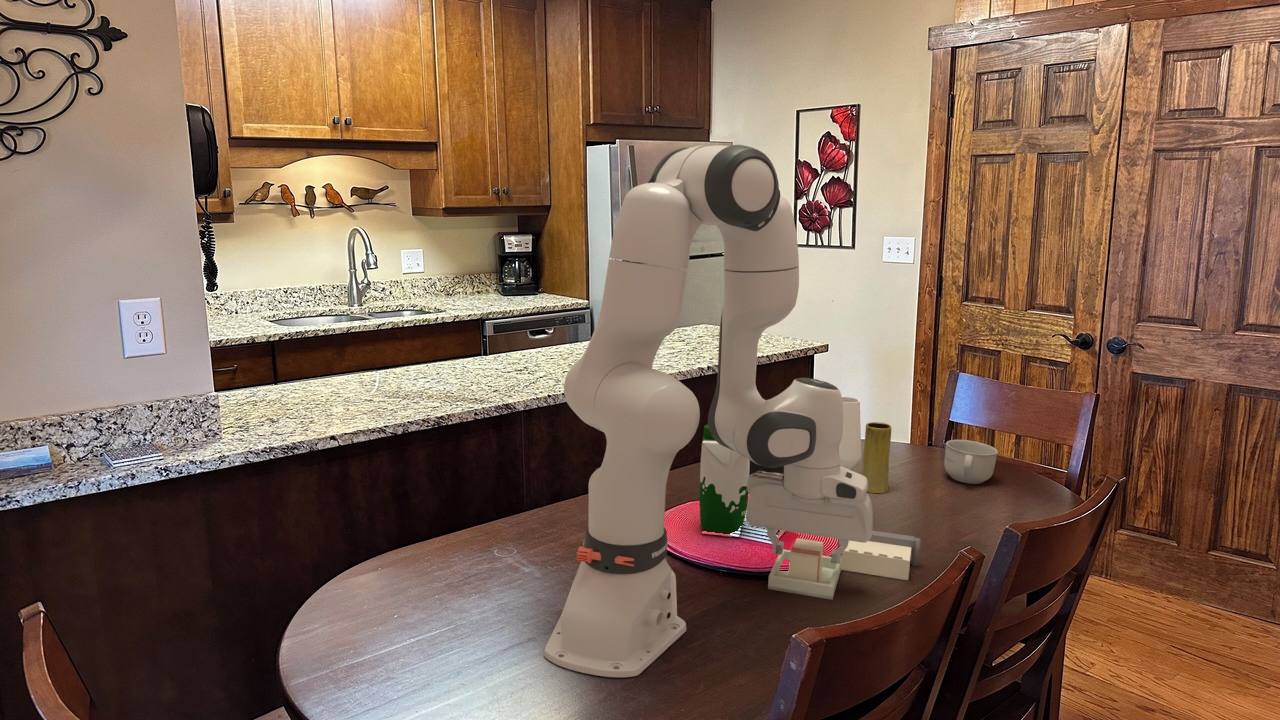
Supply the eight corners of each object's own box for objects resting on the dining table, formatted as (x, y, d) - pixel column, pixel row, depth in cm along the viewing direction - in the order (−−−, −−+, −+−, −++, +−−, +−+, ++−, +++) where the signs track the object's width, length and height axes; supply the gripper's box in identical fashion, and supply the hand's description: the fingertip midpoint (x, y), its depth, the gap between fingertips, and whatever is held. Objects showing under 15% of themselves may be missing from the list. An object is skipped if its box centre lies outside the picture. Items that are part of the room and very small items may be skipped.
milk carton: (701, 518, 166) (705, 419, 162) (748, 522, 164) (752, 422, 160) (695, 536, 158) (699, 432, 154) (744, 540, 156) (749, 435, 152)
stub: (816, 588, 137) (817, 558, 136) (788, 583, 138) (789, 554, 137) (821, 570, 143) (823, 541, 142) (795, 565, 145) (796, 537, 144)
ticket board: (916, 581, 140) (919, 555, 140) (832, 568, 145) (833, 542, 144) (918, 562, 148) (920, 537, 147) (837, 550, 152) (839, 525, 151)
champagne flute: (835, 527, 163) (843, 405, 158) (814, 514, 169) (822, 397, 164) (863, 522, 166) (872, 402, 161) (842, 510, 172) (850, 394, 167)
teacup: (950, 468, 199) (953, 435, 197) (999, 478, 192) (1003, 444, 191) (932, 484, 187) (935, 450, 186) (983, 495, 181) (987, 459, 180)
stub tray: (832, 599, 134) (833, 586, 133) (768, 588, 137) (768, 576, 137) (840, 570, 144) (841, 558, 144) (780, 561, 147) (781, 549, 147)
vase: (892, 487, 185) (897, 424, 182) (883, 496, 180) (888, 431, 177) (864, 482, 188) (869, 420, 185) (855, 490, 183) (859, 426, 180)
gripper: (743, 475, 138) (740, 555, 140) (874, 492, 131) (867, 575, 134) (752, 463, 143) (748, 540, 146) (877, 479, 137) (871, 559, 139)
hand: (806, 557), depth 140 cm, fingers open, 8 cm apart
